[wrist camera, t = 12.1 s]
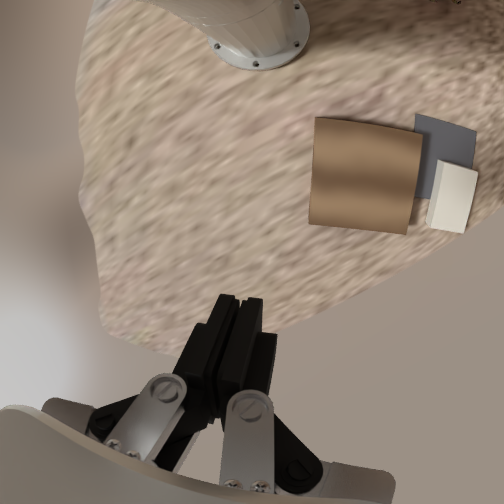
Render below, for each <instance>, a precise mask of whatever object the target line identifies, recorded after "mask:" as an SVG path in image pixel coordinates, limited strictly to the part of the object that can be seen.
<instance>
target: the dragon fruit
mask: <svg viewBox="0 0 504 504" xmlns="http://www.w3.org/2000/svg"><path fill="white" fill-rule="evenodd" d="M430 1H433V2H437V1H436V0H430ZM451 1H452V2H454V3H456V4H461V1H459V2H458V3H457V0H451Z"/></svg>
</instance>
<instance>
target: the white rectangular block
mask: <svg viewBox="0 0 504 504" xmlns="http://www.w3.org/2000/svg"><path fill="white" fill-rule="evenodd" d="M477 176H478V172H477V171H475V170H473V169H470V168H467V167H464V166H460V165H457V164H453V163H450V162H446V161H442V160H438V162H437V168H436V174H435V179H434V185H433V190H432V195H431V199H430V204H429V208H428V213H427V217H426V221H425V222H426V223H427V225H428V226H429V227H430V228H435V229H441V230H447V231H452V232H458V233H464V230H465V226H466V223H467V219H468V216H469V212H470V208H471V204H472V200H473V196H474V191H475V186H476V182H477Z"/></svg>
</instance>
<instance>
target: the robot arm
mask: <svg viewBox="0 0 504 504" xmlns="http://www.w3.org/2000/svg"><path fill="white" fill-rule="evenodd" d="M135 1H142V2H147V3H150V4H153V5H156V6H159V7H161V8H163V9H165V10H167V11H169V12H171V13H173V14H174V15H176V16H178V17H180V18H181V19H183V20H184V21H186V22H188V23H189V24H191V25H192V26H194V27H196V28H197V29H199V30H200V31H202V32H203V33H205V34H207V39H208V42H209V45H210V47H211V48H212V50H213V52H214V53H215V54H216V55H217V56H218V57H219V58H220V59H222V60H223V61H225V62H226V63H228V64H230V65H232V66H234V67H237V68H240V69H244V70H249V71H264V70H271V69H274V68H277V67H280V66H282V65H284V64H286V63H288V62H290V61H291V60H292V59H294V58H295V57H296V56H297V55H298V54H299V53H300V52H301V51H302V50H303V48H304V46H305V45H306V43H307V40H308V37H309V32H310V21H309V17H308V14H307V12H306V10H305V8H304V6H303V5H302V4H301V3H300V2H299V0H135ZM295 8H299V9H297V10H296V9H295ZM296 44H298V45H299V47H296V46H295V45H296ZM219 46H221V48H220V49H218V47H219ZM257 63H259V66H258V67H256V66H255V65H256V64H257ZM262 311H263V299H260V298H252V297H249V298H248V300H247V301H246V300H243V301H242V304H241V306H240V301H239V300H238V299H235V296H234V295H227V294H220V295H219V297H218V299H217V301H216V304H215V306H214V308H213V310H212V312H211V315H210V317H209V319H208V321H207V323H206V324H203V323H197V324H196V325H195V327H194V329H193V331H192V333H191V335H190V337H189V339H188V341H187V343H186V345H185V348H184V350H183V352H182V354H181V356H180V358H179V360H178V362H177V364H176V366H175V368H174V370H173V372H172V374H171V373H163V374H159V375H157V376H155V377H153V378H152V379H151V380H150V381H149V382H148V383H147V385H146V386H145V387H144V389H143V390H142V391H141V392H140V394H138V395H135V396H132V397H129V398H127V399H124V400H121V401H118V402H115V403H112V404H109V405H106V406H103V407H101V408H98V409H96V408H94V407H93V406H90V405H85V404H81V403H77V402H72V401H68V400H64V399H60V398H51V399H49V400H47V401H46V402H45V403H44V405H43V407H42V410H41V411H40V410H37V409H35V408H32V407H28V406H24V405H9V406H6V407H4V408H3V409H1V410H0V504H391V503H392V499H393V495H394V492H395V485H396V482H395V479H394V477H393V476H392V475H391V474H390V473H389V472H386V471H383V470H376V469H369V468H363V467H358V466H351V465H347V464H342V463H337V462H332V463H329V462H325V461H321V460H319V459H318V458H317V457H316V456H315V455H314V454H313V453H312V452H311V451H310V450H309V449H308V448H307V447H306V446H305V445H304V444H303V443H302V442H301V441H300V440H299V439H298V438H297V437H296V436H295V435H294V434H293V433H292V432H291V431H290V430H289V429H288V428H287V427H286V426H285V425H284V423H283V422H282V421H281V420H280V419H279V418H278V417H277V416H276V415H275V414H274V407H273V402H272V401H271V399H270V398H269V397H268V395H269V389H270V384H271V378H272V372H273V366H274V360H275V354H276V345H277V334H274V333H265V332H262ZM215 418H221V424H222V428H223V432H224V441H223V451H222V460H221V470H220V481H219V485H216V484H212V483H208V482H204V481H200V480H196V479H193V478H189V477H186V476H182V475H178V474H177V473H178V471H179V469H180V467H181V466H182V464H183V462H184V460H185V459H186V457H187V455H188V453H189V452H190V450H191V448H192V446H193V444H194V443H195V441H196V439H197V437H198V436H199V433H200V431H201V430H203V429H205V428H206V427H207V425H208V423H209V424H213V423H214V420H215Z"/></svg>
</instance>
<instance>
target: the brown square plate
mask: <svg viewBox="0 0 504 504" xmlns="http://www.w3.org/2000/svg"><path fill="white" fill-rule="evenodd" d="M422 138H423V135H422V134H418V133H415V132H410V131H405V130H401V129H396V128H390V127H385V126H379V125H373V124H367V123H360V122H353V121H346V120H337V119H328V118H318V117H315V126H314V147H313V164H312V179H311V192H310V205H309V224H311V225H322V226H332V227H342V228H351V229H361V230H370V231H378V232H387V233H395V234H404V235H406V232H407V228H408V224H409V219H410V215H411V210H412V205H413V200H414V194H415V189H416V183H417V177H418V170H419V163H420V156H421V148H422Z"/></svg>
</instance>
